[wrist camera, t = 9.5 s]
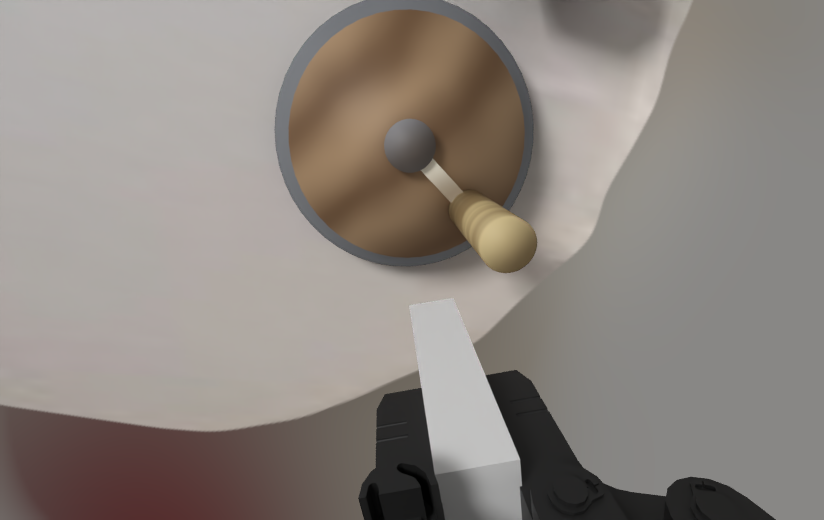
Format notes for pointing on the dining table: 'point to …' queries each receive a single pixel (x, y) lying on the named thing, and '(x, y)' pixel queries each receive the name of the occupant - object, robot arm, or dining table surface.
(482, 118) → the dial
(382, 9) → the dial base
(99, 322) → the dining table surface
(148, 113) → the dining table surface
